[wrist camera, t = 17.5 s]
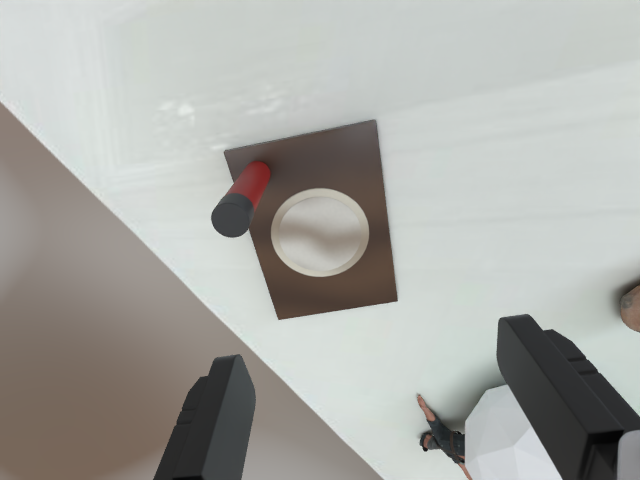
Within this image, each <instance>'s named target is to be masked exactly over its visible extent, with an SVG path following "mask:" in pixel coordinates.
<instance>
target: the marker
mask: <svg viewBox="0 0 640 480" xmlns="http://www.w3.org/2000/svg"><path fill="white" fill-rule="evenodd" d="M270 175H271V174H270V170H269V168H268V166H267V165H266V164H264V163H263V162H260V161H253V162H251V163H249V164H248V165H247V166H246V168H245V169H244V170H243V172H242V173H241V175H240V176H239V177H238V179H237V180H236V181H235V183H234V184H233V185H232V187H231V188H230V190H229V191H228V192H227V194H226V195H225V196H224V197H223V198H222V199H221V201H220V202H219V203H218V205H217V206H216V207H215V209H214V210H213V212H212V216H211V220H212V224H213V226H214V228H215V229H216V231H217V232H219V233H220V234H222V235H223V236H226V237H239V236H241V235H243V234H244V233H245V232H246V231H247V230H248V228H249V225H250V223H251V221H252V219H253V216H254V213H255V210H256V208H257V206H258V204H259V201H260V199H261V197H262V195H263V193H264V190H265V188H266V186H267V184H268V182H269V179H270Z"/></svg>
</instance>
